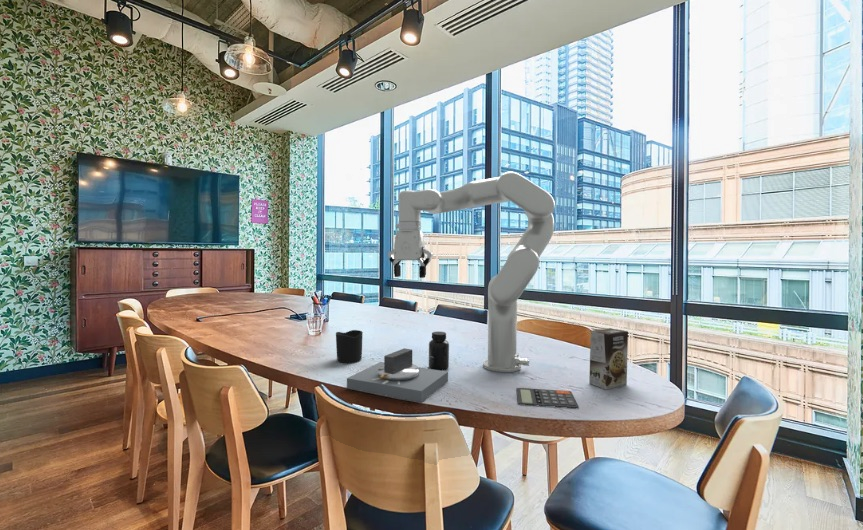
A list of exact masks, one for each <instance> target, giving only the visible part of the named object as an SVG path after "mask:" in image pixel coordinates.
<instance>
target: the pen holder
mask: <svg viewBox="0 0 863 530" xmlns="http://www.w3.org/2000/svg"><path fill="white" fill-rule="evenodd" d="M335 343H336V344H335V347H336V348H335V349H336V361H337V362H339V363H342V364H354V363H359V362H360V361H361V360H362V357H363V331H362V330H358V329H352V330H349V331H347V332H341V331H337V332H335Z"/></svg>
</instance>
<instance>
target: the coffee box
mask: <svg viewBox="0 0 863 530" xmlns="http://www.w3.org/2000/svg"><path fill="white" fill-rule="evenodd" d="M589 344H590V347H589V381H588V383H589V384H590V385H594V386H596V387H599V388H601V389H604V390H610V389H615V388H619V387H623V386H627V385H628V384H627V383H628V349H629V345H628V344H629V331H627V330H623V329H618V328H610V327H609V328H600V329H593V330H590V343H589Z"/></svg>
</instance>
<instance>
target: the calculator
mask: <svg viewBox="0 0 863 530" xmlns="http://www.w3.org/2000/svg"><path fill="white" fill-rule="evenodd" d="M516 397H517V405H519V404H525V405H524V406H531V405H539V406H538V407H546V406H555V407H554V408H561V407H567V408H566V409H576V408H578V409H580V406H579V404H578V402H577V400H576V397H574V394H573V392H572V391H571V390H564V389H563V390H562V389H561V390H559V389H543V388H530V387H529V388H528V387H527V388H526V387H516Z"/></svg>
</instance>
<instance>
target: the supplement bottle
mask: <svg viewBox="0 0 863 530" xmlns="http://www.w3.org/2000/svg"><path fill="white" fill-rule="evenodd" d="M446 339H447V332H445V331H433V332H431V340H430V341H429V342H428V369H433V370H440V371H446V370H448V369H449V365H450V342H449V341H448V340H446Z"/></svg>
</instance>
